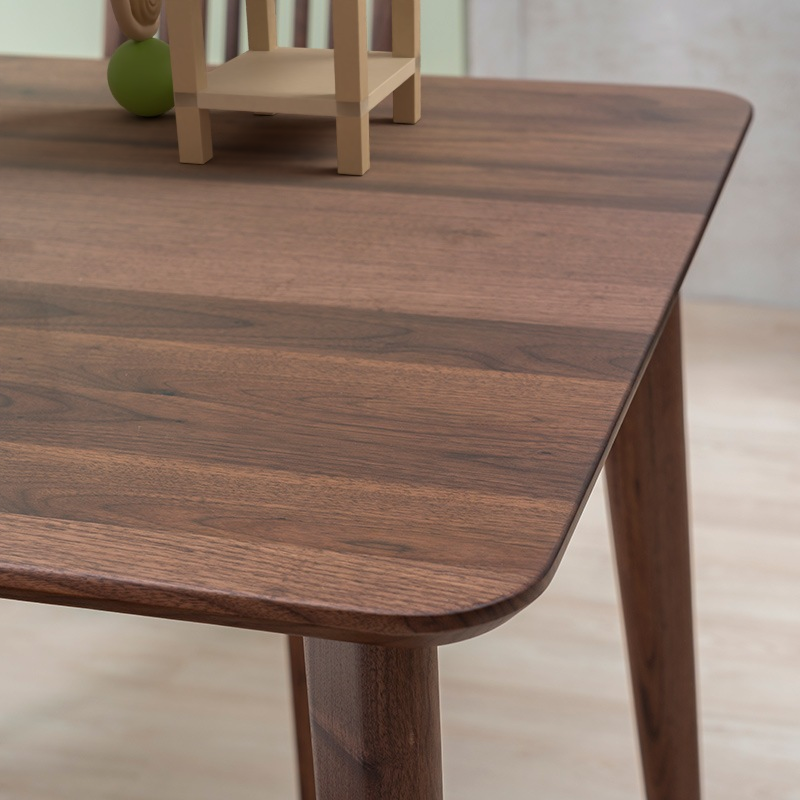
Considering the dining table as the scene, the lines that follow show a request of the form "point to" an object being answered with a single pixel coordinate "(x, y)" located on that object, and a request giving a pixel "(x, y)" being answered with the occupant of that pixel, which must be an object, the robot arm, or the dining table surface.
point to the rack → (296, 76)
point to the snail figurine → (141, 60)
